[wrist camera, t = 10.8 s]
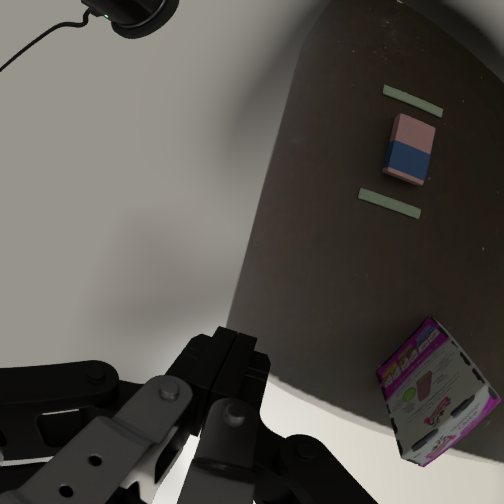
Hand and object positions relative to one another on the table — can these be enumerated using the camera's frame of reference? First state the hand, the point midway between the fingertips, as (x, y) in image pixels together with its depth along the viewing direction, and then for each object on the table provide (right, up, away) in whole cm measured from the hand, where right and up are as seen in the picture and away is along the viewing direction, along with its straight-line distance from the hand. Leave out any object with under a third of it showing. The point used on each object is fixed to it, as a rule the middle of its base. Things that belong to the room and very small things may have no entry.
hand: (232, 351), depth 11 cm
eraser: (+19, +16, +19) cm, 31 cm away
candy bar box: (+23, -10, +24) cm, 35 cm away
